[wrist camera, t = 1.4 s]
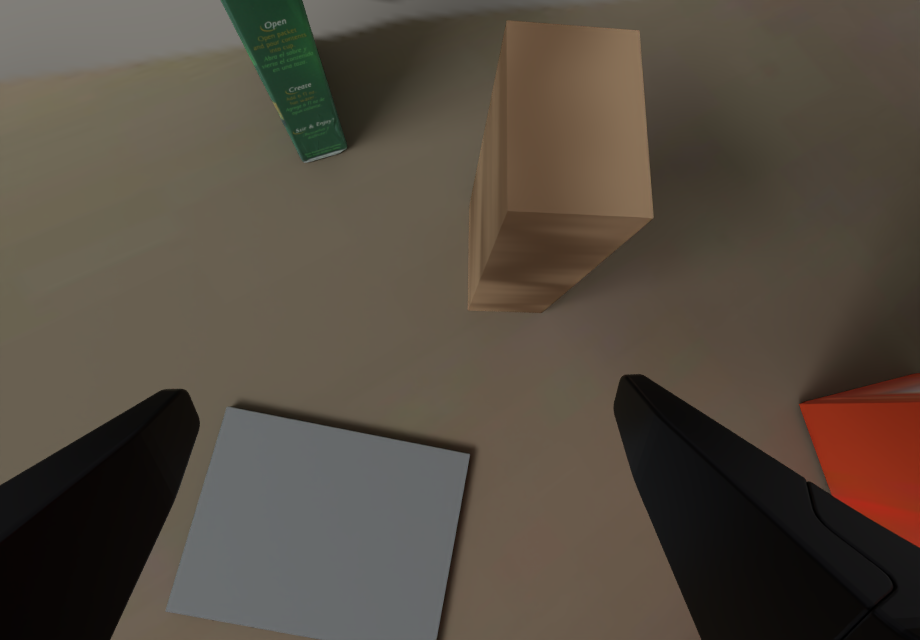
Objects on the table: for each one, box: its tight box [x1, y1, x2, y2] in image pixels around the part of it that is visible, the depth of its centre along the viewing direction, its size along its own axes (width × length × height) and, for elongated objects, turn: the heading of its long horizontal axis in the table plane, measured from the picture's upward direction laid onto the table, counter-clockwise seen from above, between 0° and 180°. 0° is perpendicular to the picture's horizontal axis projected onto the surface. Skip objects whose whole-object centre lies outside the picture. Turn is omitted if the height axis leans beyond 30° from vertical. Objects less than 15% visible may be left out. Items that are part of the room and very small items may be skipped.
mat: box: [166, 407, 470, 640], centre depth 21 cm, size 12×9×1 cm
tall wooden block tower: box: [468, 20, 654, 313], centre depth 18 cm, size 4×6×12 cm, turn 179°
